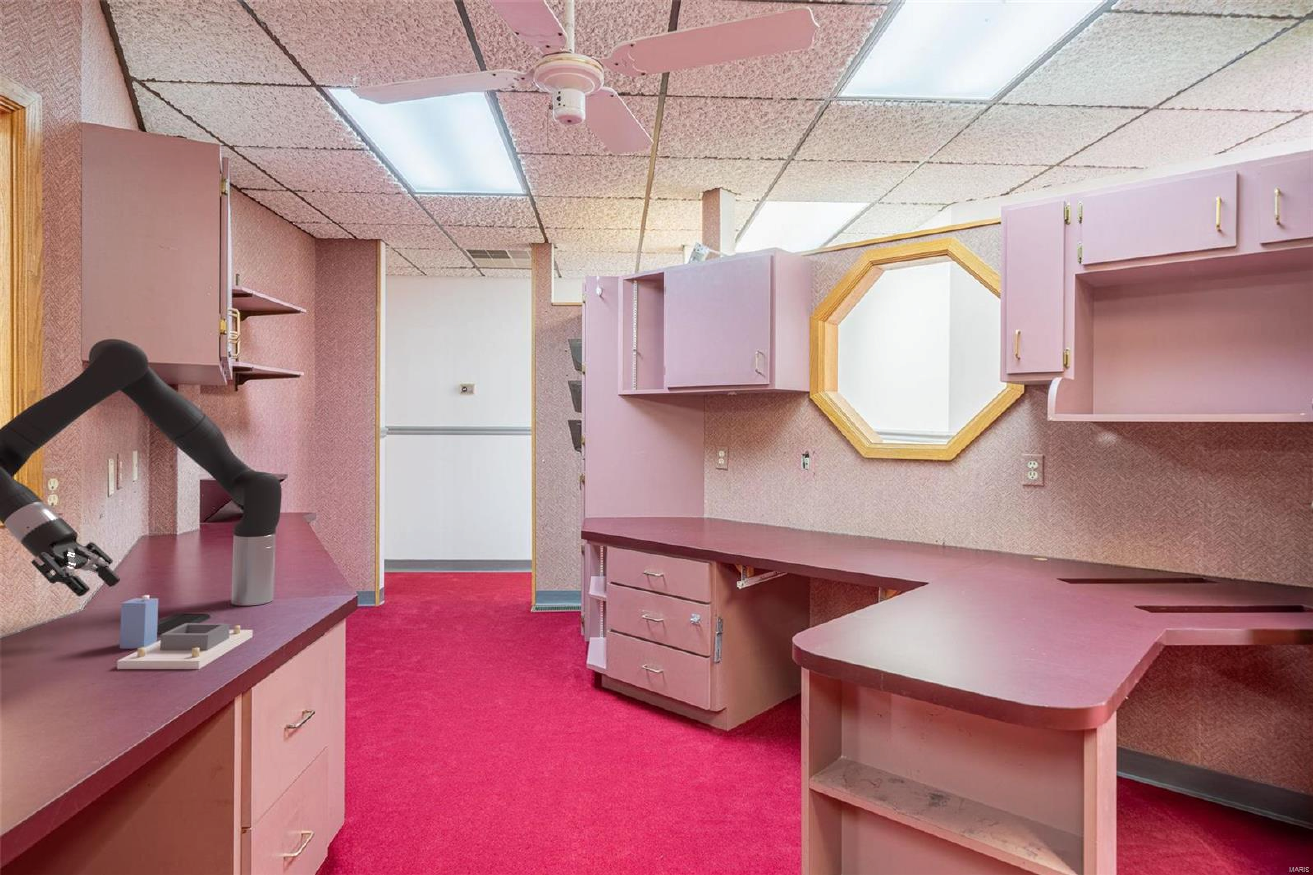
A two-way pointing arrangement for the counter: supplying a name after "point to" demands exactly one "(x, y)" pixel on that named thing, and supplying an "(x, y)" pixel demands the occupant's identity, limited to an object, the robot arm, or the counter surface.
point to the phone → (179, 621)
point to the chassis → (187, 647)
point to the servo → (139, 622)
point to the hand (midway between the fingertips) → (101, 588)
